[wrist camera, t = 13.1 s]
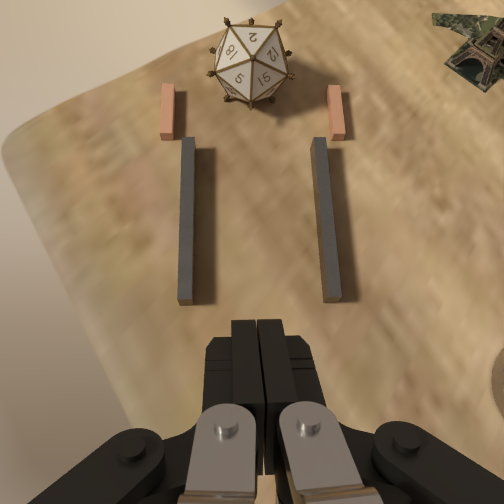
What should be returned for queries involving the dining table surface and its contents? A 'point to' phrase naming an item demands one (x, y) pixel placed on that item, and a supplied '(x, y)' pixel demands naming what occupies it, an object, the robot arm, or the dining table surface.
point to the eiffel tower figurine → (476, 47)
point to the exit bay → (332, 100)
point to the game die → (251, 62)
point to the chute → (323, 219)
